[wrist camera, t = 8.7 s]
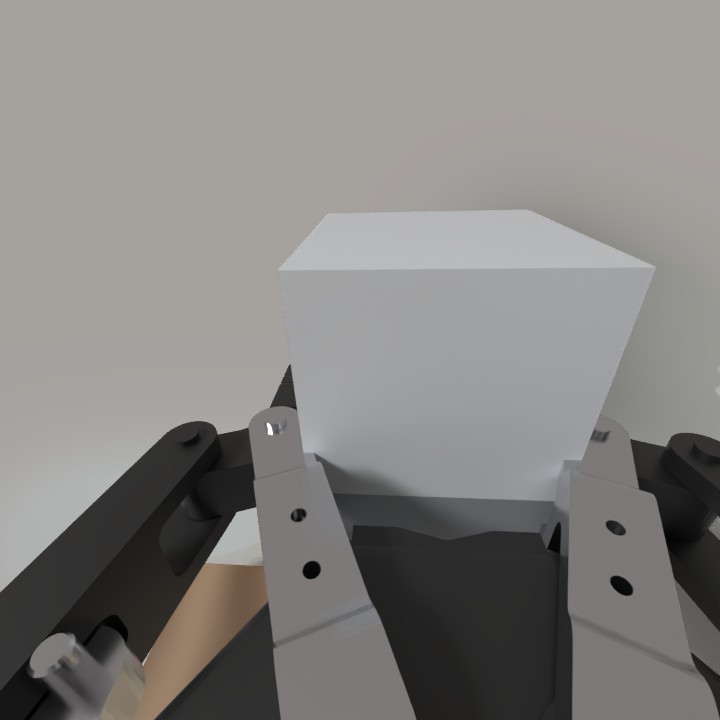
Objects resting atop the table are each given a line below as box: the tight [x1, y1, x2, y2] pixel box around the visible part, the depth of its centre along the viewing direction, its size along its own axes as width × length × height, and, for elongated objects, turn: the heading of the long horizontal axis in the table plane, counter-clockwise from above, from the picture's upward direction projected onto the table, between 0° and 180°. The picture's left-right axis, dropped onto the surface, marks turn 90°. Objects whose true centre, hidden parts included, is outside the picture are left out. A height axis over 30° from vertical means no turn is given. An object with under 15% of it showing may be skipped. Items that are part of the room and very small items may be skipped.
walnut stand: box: [133, 563, 268, 720], centre depth 21 cm, size 10×10×4 cm
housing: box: [277, 210, 656, 540], centre depth 11 cm, size 6×6×11 cm
